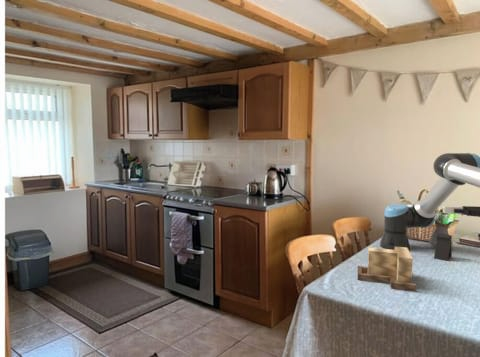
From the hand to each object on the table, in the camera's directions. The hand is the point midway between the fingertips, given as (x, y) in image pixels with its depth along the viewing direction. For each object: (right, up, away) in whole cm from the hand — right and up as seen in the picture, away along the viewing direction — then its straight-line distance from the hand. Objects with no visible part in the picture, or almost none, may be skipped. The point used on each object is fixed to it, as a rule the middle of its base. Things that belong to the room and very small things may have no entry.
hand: (443, 209), depth 146 cm
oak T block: (-19, -30, +8) cm, 37 cm away
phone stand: (+21, -28, +38) cm, 51 cm away
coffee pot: (+32, -26, +61) cm, 73 cm away
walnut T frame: (-20, -30, +8) cm, 37 cm away
